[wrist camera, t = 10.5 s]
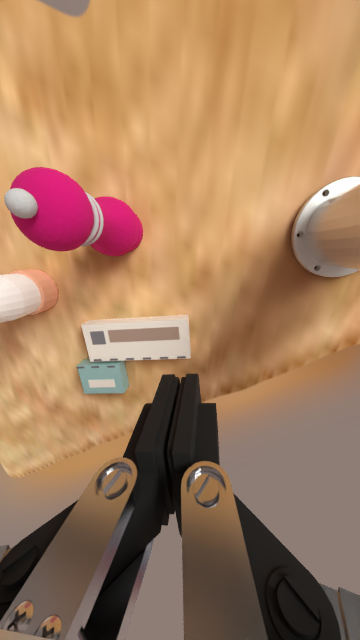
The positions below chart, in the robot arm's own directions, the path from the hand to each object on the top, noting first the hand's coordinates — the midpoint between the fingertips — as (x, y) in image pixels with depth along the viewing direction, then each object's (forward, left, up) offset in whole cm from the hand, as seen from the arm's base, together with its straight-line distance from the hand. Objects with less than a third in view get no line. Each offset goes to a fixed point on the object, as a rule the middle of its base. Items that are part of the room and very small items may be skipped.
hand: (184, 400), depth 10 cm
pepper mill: (+11, -11, -26) cm, 30 cm away
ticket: (+11, +7, -25) cm, 28 cm away
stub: (+18, +14, -25) cm, 34 cm away
